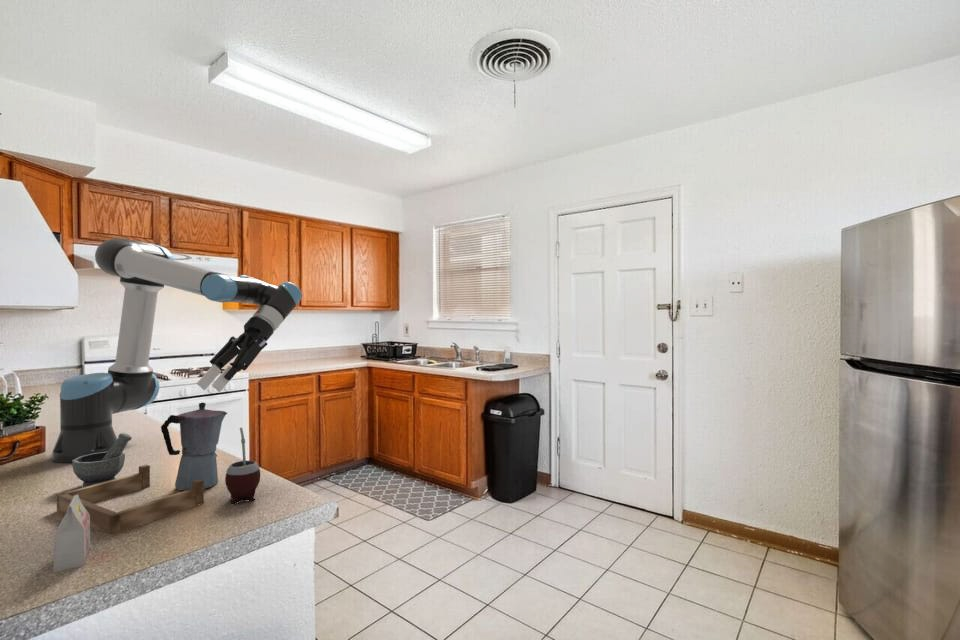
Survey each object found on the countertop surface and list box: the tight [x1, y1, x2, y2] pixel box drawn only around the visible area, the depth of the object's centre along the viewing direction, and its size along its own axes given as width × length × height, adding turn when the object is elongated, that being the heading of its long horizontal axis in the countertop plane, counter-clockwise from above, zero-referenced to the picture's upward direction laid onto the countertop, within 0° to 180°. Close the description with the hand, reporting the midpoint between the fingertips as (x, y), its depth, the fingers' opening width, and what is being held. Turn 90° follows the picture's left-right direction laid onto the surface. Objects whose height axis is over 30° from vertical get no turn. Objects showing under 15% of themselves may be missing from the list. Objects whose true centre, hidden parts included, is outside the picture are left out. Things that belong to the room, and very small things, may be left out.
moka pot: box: [160, 402, 228, 491], centre depth 113 cm, size 10×15×20 cm, turn 155°
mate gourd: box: [224, 427, 261, 505], centre depth 106 cm, size 8×8×15 cm
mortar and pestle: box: [71, 432, 132, 488], centre depth 114 cm, size 11×9×12 cm
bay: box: [56, 464, 205, 536], centre depth 101 cm, size 17×23×5 cm
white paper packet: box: [53, 494, 91, 573], centre depth 79 cm, size 4×7×10 cm, turn 33°
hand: (208, 387), depth 123 cm, fingers open, 6 cm apart
